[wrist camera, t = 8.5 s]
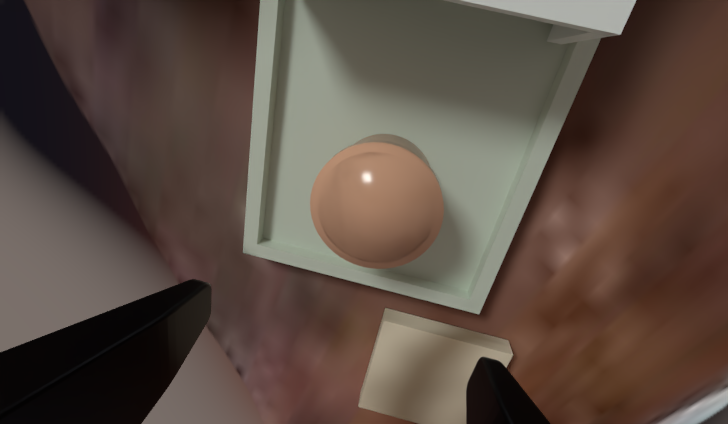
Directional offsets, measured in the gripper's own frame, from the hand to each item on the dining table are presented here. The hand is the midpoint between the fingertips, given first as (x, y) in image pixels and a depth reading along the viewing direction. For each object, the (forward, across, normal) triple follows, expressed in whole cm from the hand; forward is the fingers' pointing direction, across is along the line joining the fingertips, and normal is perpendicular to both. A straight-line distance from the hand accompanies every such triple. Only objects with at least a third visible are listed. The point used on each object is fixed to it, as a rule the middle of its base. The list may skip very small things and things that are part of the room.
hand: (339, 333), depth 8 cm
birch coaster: (+12, -6, +12) cm, 18 cm away
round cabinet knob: (+11, 0, 0) cm, 11 cm away
